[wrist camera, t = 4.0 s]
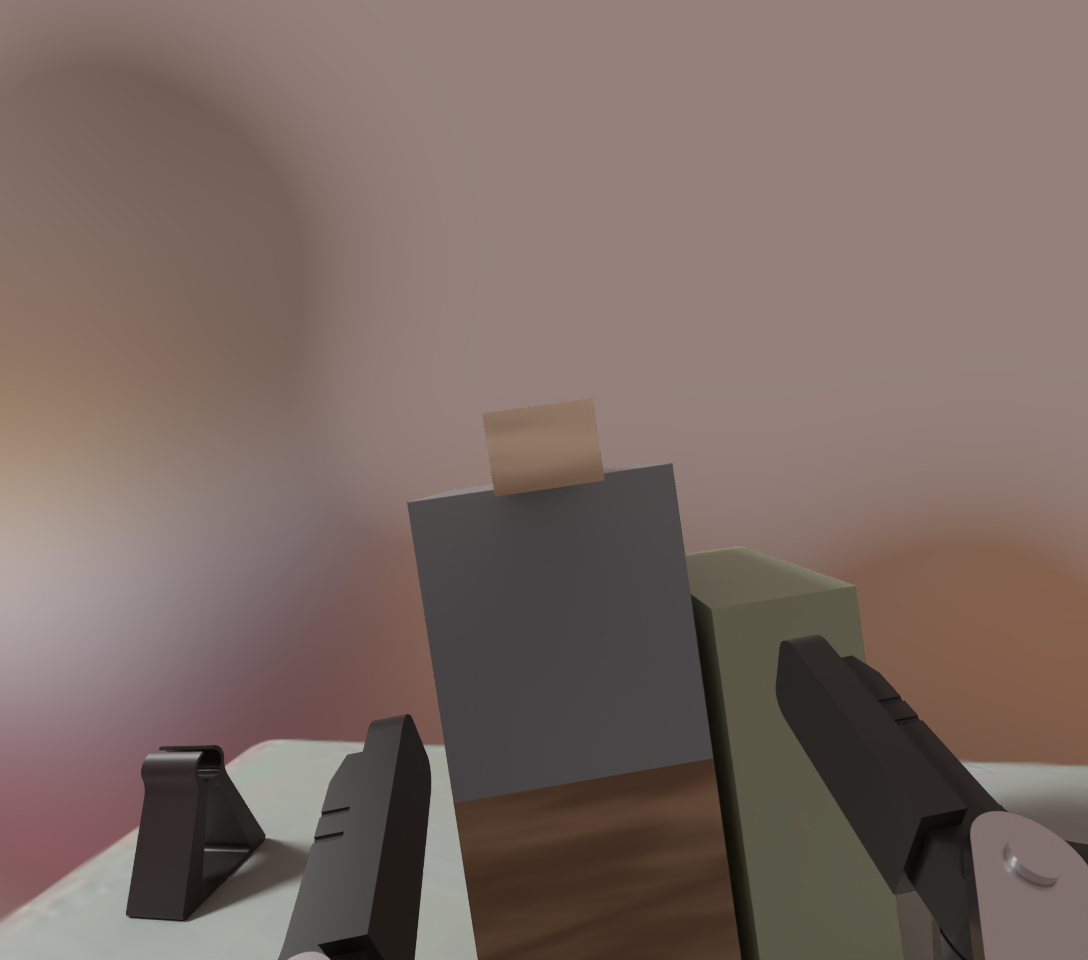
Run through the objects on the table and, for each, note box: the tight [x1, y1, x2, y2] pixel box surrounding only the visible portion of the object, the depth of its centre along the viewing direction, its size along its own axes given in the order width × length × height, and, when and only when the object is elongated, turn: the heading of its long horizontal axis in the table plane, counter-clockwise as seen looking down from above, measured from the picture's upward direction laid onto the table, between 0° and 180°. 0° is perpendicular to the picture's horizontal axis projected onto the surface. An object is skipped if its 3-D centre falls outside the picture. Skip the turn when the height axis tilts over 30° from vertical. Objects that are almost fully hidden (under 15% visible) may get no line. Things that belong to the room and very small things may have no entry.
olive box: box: [685, 546, 904, 960], centre depth 34 cm, size 14×8×24 cm, turn 3°
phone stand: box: [126, 745, 265, 920], centre depth 45 cm, size 9×6×12 cm, turn 167°
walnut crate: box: [454, 758, 741, 960], centre depth 33 cm, size 14×14×16 cm
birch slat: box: [483, 398, 604, 497], centre depth 28 cm, size 20×4×3 cm, turn 3°
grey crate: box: [407, 463, 713, 803], centre depth 33 cm, size 14×14×16 cm
